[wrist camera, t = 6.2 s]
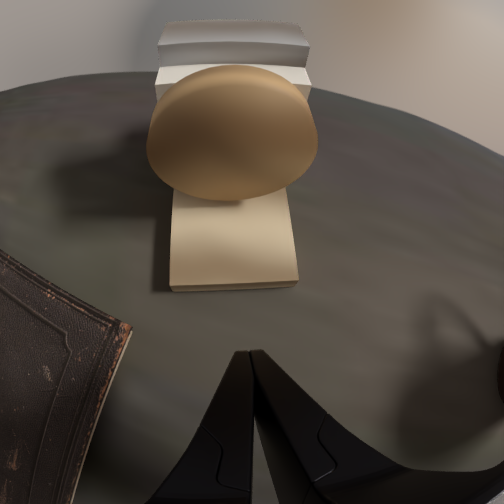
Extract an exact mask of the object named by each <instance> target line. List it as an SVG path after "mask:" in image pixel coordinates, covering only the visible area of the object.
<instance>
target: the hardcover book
mask: <svg viewBox="0 0 504 504" xmlns="http://www.w3.org/2000/svg"><path fill="white" fill-rule="evenodd" d="M132 328H133V327H132V326H130V325H128V324H126V323H124V322H122V321H120V320H118V319H116V318H114V317H112V316H110V315H108V314H106V313H104V312H102V311H100V310H98V309H97V308H95V307H93V306H91V305H89V304H87V303H86V302H84V301H82V300H80V299H78V298H77V297H75V296H73V295H71V294H70V293H68V292H66V291H64V290H63V289H61V288H59V287H58V286H56V285H54V284H53V283H51V282H49V281H48V280H46V279H44V278H43V277H41V276H40V275H38V274H36V273H35V272H33V271H32V270H30V269H29V268H27V267H26V266H24V265H23V264H21V263H20V262H18V261H17V260H15V259H14V258H12V257H11V256H9V255H8V254H6V253H5V252H4V251H2V250H1V249H0V504H72V502H73V498H74V494H75V491H76V487H77V484H78V480H79V477H80V473H81V470H82V467H83V464H84V460H85V457H86V454H87V451H88V448H89V445H90V442H91V439H92V436H93V433H94V430H95V427H96V424H97V421H98V418H99V416H100V413H101V410H102V407H103V405H104V402H105V399H106V396H107V394H108V391H109V389H110V386H111V383H112V381H113V378H114V376H115V373H116V371H117V368H118V366H119V363H120V361H121V358H122V356H123V353H124V351H125V349H126V346H127V344H128V341H129V339H130V337H131V334H132V331H131V330H132Z"/></svg>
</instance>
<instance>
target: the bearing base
mask: <svg viewBox="0 0 504 504" xmlns="http://www.w3.org/2000/svg"><path fill="white" fill-rule="evenodd" d="M309 49H310V46H309V44H308V42H307V40H306V38H305V36H304V34H303V32H302V30H301V28H300V27H299V25H298V24H296V23H287V22H276V21H262V20H231V19H226V20H225V19H223V20H222V19H221V20H194V21H193V20H192V21H179V22H168V23H166V25H165V28H164V30H163V33H162V36H161V38H160V41H159V43H158V53H159V62H160V67H166V66H178V65H195V64H262V65H279V66H291V67H302V68H305V65H306V61H307V57H308V53H309ZM298 281H299V277H298V269H297V262H296V254H295V247H294V240H293V234H292V227H291V220H290V214H289V207H288V201H287V195H286V188H285V187H284V188H282V189H280V190H277V191H275V192H273V193H270V194H267V195H263V196H260V197H255V198H250V199H243V200H231V201H221V200H210V199H203V198H199V197H194V196H191V195H188V194H185V193H183V192H180V191H178V190H176V189H174V192H173V207H172V224H171V247H170V287H171V289H172V291H173V292H184V291H214V290H238V289H259V288H278V287H294V286H295V285H296V284H297V282H298Z"/></svg>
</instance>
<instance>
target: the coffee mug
mask: <svg viewBox="0 0 504 504" xmlns="http://www.w3.org/2000/svg"><path fill="white" fill-rule="evenodd" d="M498 388H499V393H500V396H501V399H502V401H503V402H504V348H503V350H502V353H501V356H500V360H499V366H498Z"/></svg>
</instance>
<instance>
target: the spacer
mask: <svg viewBox="0 0 504 504" xmlns="http://www.w3.org/2000/svg"><path fill="white" fill-rule="evenodd" d="M221 65H247V66H253V67H258V68H262V69H265V70H268V71H271V72H273V73H276V74H278V75H280V76H282V77H283V78H285V79H286V80H288V81H289V82H291V83H292V84H293V85H294V86H295V87H296V88H297V89H298V90H299V91H300V92H301V93H302V95H303V96H304V98H305V99H306V101H307V100H308V96H309V93H310V89H311V86H312V85H311V83H310V80H309V77H308V75H307V73H306V70H305V68H302V67H291V66H279V65H262V64H195V65H178V66H166V67H160V69H159V72H158V75H157V79H156V83H155V89H156V95H157V101H159V100H160V98H161V97H162V95H163V94H164V93H165V92H166V91H167V90H168V89H169V88H170V87H171V86H173V85H174V84H175V83H176V82H178V81H179V80H181V79H183V78H184V77H186V76H188V75H190V74H192V73H195V72H197V71H200V70H203V69H206V68H210V67H216V66H221Z"/></svg>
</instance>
